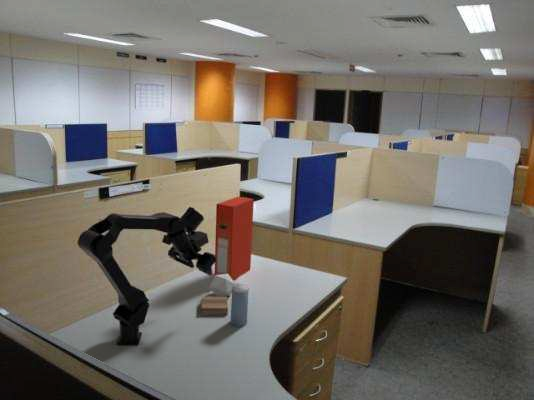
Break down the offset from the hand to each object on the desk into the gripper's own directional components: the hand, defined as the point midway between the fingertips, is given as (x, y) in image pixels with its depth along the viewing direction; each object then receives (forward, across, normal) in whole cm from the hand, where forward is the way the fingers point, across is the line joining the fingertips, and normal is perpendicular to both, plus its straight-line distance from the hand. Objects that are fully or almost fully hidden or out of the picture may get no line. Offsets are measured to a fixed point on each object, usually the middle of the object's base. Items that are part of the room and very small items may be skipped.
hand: (202, 270), depth 155 cm
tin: (+12, -16, +7) cm, 22 cm away
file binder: (+30, +14, -16) cm, 37 cm away
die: (+19, +2, -2) cm, 19 cm away
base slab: (+13, -4, +6) cm, 15 cm away
